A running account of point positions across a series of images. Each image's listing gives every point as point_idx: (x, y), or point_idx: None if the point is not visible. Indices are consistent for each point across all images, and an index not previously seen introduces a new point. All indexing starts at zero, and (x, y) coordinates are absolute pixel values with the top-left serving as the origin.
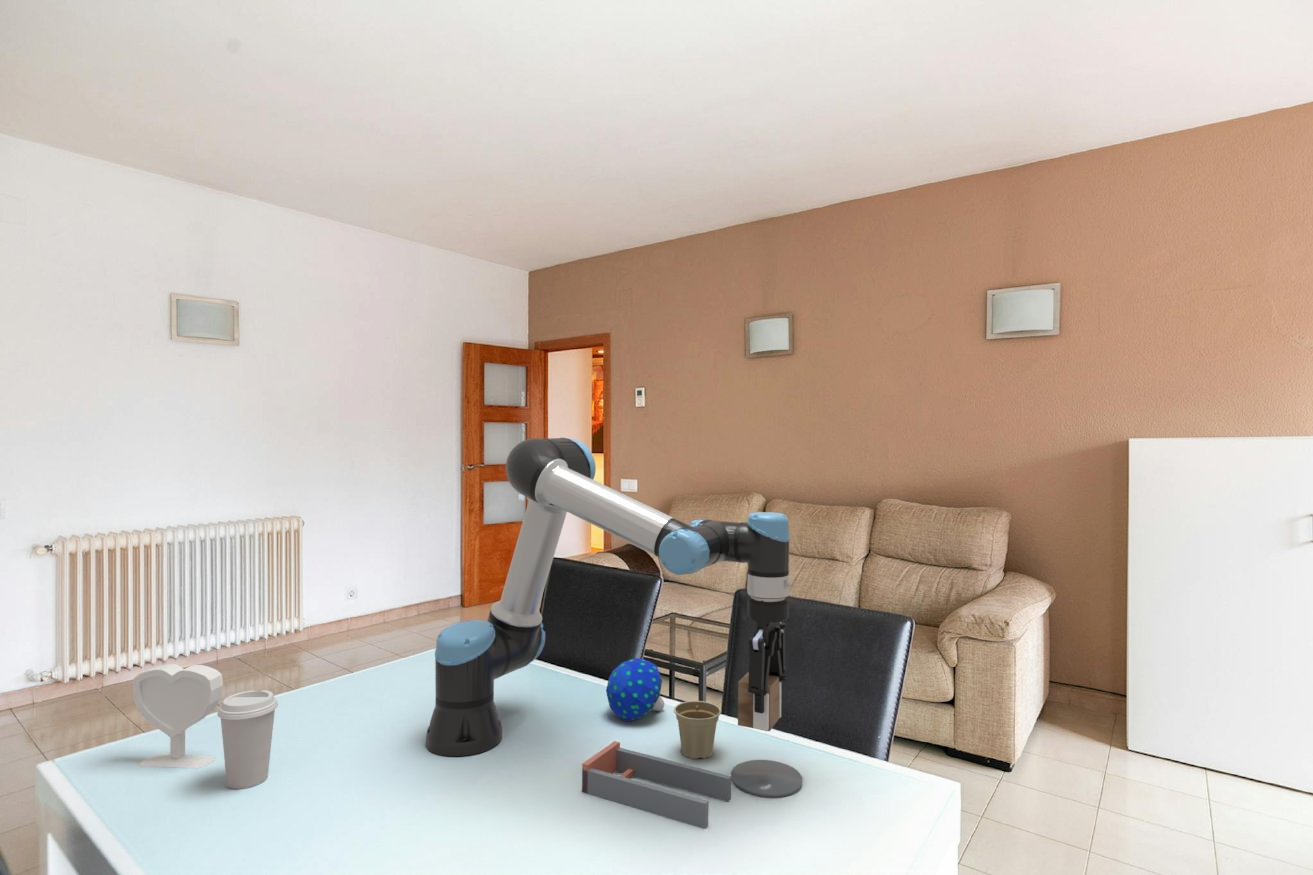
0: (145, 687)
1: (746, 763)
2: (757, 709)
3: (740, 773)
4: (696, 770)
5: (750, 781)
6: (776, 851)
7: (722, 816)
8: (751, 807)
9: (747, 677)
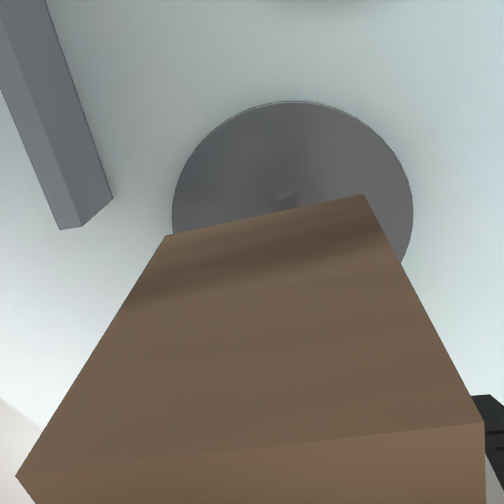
0: None
1: (332, 126)
2: None
3: (245, 152)
4: (4, 96)
5: (220, 208)
6: (25, 377)
7: (25, 228)
8: (122, 263)
9: (240, 493)
